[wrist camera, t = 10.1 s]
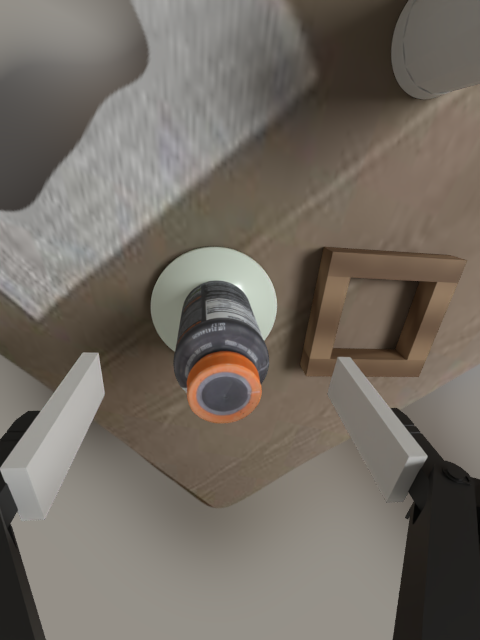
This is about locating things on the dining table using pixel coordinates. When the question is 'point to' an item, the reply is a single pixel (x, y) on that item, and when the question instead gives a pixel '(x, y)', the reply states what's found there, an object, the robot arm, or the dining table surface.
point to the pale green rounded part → (204, 268)
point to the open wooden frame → (420, 323)
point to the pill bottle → (220, 353)
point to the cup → (437, 47)
